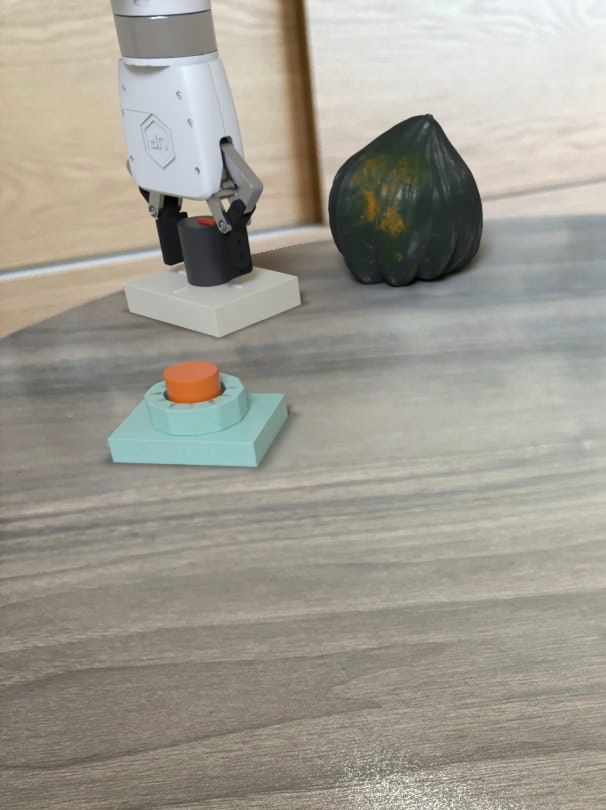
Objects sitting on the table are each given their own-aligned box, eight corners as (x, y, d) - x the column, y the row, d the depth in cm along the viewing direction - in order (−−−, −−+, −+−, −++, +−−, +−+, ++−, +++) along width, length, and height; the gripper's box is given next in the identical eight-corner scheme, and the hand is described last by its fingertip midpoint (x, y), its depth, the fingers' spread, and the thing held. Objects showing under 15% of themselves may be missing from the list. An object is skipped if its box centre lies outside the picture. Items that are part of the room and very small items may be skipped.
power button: (160, 405, 69) (155, 380, 68) (179, 384, 72) (174, 359, 71) (212, 407, 68) (207, 382, 67) (229, 385, 71) (224, 361, 70)
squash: (275, 229, 96) (361, 99, 87) (351, 197, 107) (435, 79, 98) (382, 342, 98) (478, 227, 88) (446, 299, 109) (537, 193, 100)
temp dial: (178, 281, 92) (166, 219, 89) (212, 269, 95) (201, 209, 91) (208, 289, 90) (197, 226, 87) (242, 277, 93) (232, 215, 89)
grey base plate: (130, 316, 94) (122, 281, 92) (213, 286, 100) (207, 253, 98) (219, 343, 88) (213, 306, 86) (301, 309, 94) (297, 274, 92)
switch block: (114, 468, 70) (100, 413, 67) (157, 418, 76) (145, 366, 74) (258, 473, 69) (248, 417, 66) (289, 421, 75) (281, 369, 73)
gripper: (60, 38, 83) (112, 263, 94) (205, 51, 74) (244, 297, 85) (135, 27, 88) (177, 243, 98) (279, 39, 79) (308, 273, 90)
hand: (208, 266), depth 92 cm, fingers open, 6 cm apart
